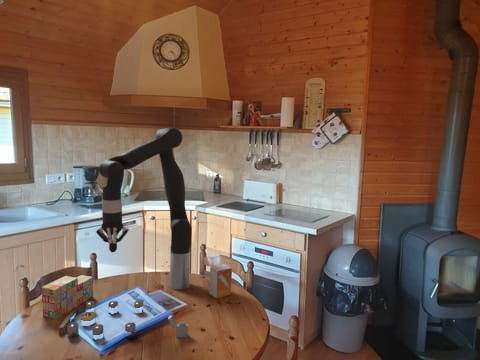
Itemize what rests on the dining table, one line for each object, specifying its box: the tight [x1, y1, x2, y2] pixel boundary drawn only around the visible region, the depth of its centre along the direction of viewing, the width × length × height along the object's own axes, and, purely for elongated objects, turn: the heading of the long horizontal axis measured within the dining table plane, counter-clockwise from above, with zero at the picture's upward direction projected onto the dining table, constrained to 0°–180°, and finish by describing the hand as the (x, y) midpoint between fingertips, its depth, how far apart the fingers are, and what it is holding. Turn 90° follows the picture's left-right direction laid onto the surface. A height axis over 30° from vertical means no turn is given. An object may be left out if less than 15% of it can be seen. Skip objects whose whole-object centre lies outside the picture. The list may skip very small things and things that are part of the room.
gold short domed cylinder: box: [80, 312, 96, 321], centre depth 141 cm, size 5×5×4 cm
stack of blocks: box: [41, 274, 94, 320], centre depth 153 cm, size 21×6×12 cm, turn 161°
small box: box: [208, 263, 233, 299], centre depth 170 cm, size 8×6×13 cm
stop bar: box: [58, 307, 78, 335], centre depth 140 cm, size 2×15×2 cm, turn 6°
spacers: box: [66, 300, 144, 339], centre depth 141 cm, size 24×22×4 cm
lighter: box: [167, 314, 189, 339], centre depth 134 cm, size 7×2×8 cm, turn 100°
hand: (113, 251), depth 152 cm, fingers closed
